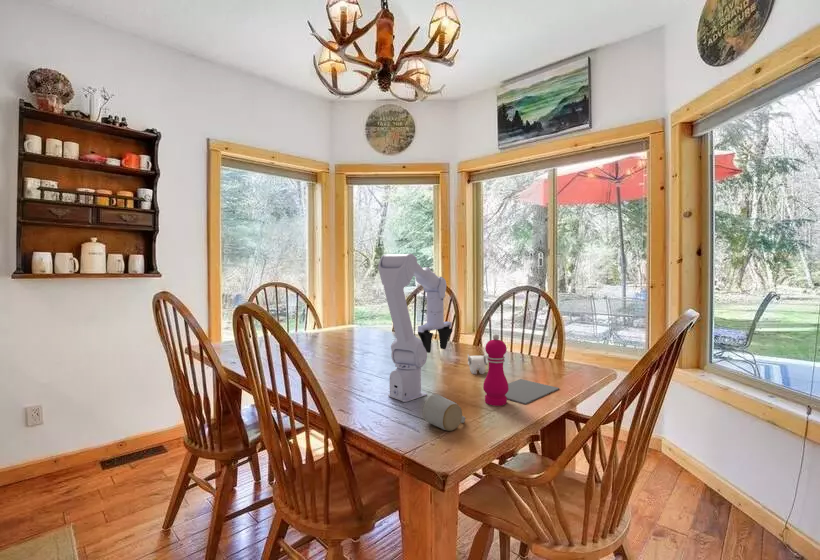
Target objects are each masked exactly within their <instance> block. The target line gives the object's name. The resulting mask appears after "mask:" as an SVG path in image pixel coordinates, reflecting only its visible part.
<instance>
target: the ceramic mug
mask: <svg viewBox="0 0 820 560" xmlns="http://www.w3.org/2000/svg"><path fill="white" fill-rule="evenodd" d="M422 407H423V408H422V416H423V419H424V420H425V421H426V423H428V424H431V425H433V426H434V427H437V428H440V429H441V430H444V431H449V432H452V431H454V430H456V429H457V428H458V427H459V426H460V424H464V423H465V421H466V416H464V415H463V410H462V407H461V406H460V405H459V404H457V402H456V401H455V402H454V401H452V400H450V399H448V398H446V397H444V396H442V395H440V394H437V393H436V394H435V393H434V394H432V395H429V396H428V397H427V399H426V401H425V402H424V404H423V406H422Z"/></svg>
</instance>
